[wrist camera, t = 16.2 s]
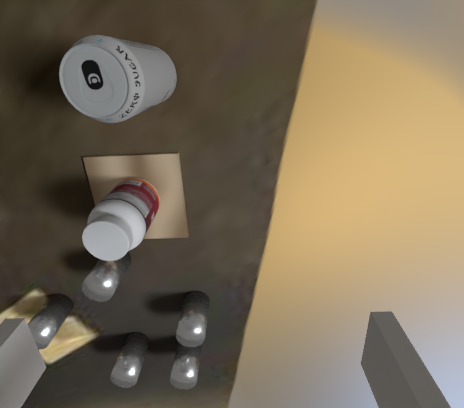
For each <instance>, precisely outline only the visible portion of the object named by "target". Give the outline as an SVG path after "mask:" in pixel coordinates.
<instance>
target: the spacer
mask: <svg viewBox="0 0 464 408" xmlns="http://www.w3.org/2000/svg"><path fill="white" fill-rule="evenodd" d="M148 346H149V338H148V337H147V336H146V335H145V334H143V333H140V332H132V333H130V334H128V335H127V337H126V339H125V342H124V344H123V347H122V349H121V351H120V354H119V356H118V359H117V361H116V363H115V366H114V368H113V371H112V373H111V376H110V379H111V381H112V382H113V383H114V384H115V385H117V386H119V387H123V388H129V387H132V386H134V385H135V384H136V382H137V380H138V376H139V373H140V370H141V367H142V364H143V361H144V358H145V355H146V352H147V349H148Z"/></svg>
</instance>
